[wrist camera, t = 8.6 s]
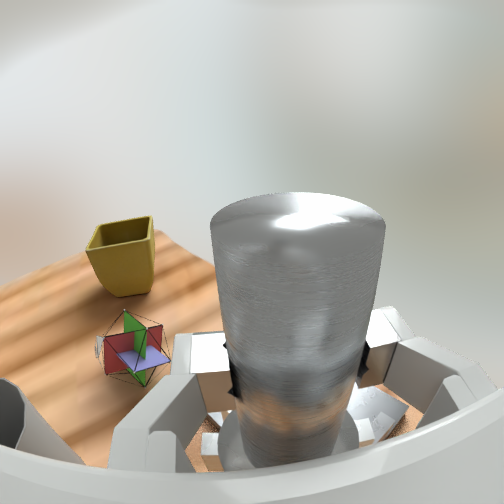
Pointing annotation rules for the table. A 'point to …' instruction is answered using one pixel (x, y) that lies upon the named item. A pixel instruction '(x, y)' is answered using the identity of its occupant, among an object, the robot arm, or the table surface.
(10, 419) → the cup
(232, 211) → the gear
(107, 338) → the geometric puzzle
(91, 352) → the table surface
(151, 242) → the flower pot
